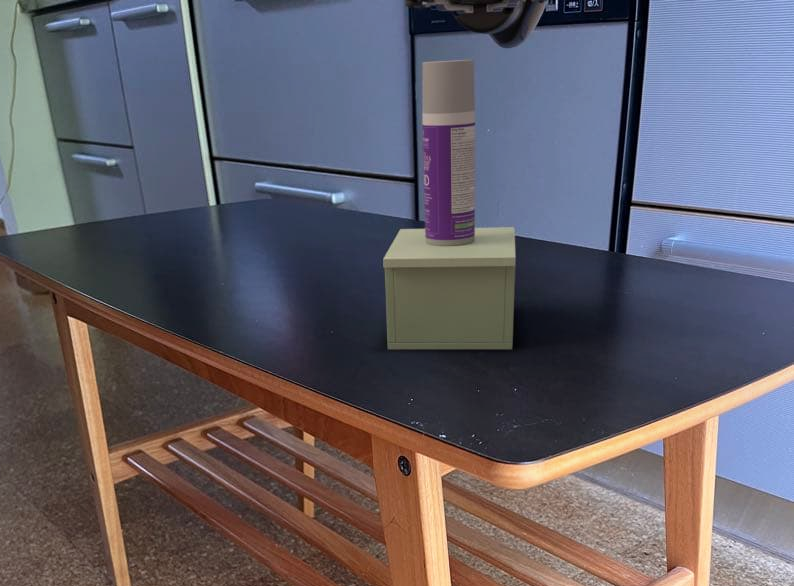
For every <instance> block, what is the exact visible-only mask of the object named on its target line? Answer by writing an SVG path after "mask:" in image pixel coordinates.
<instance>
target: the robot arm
mask: <svg viewBox="0 0 794 586" xmlns="http://www.w3.org/2000/svg"><path fill="white" fill-rule="evenodd" d="M404 3H405V5H404V6H405V7H408V9H412V8H413V9H414V8H415V9H419V10H422V11H423V10H425V9H428V8H430V7H431V6H435V7H436V10H437V11H439V12H451V13H452V15H453V17H454V19H455V20H456V21H457V22H458V24H459V25H460V26H462V27H463V28H464V29H465V30H468V31H470V32H472V33H476V34H482V35H489V37H490V38H491V39H492V40H493V42H494V43H495V44H496V45H497V46H499V47H501V48H502V49H513V48H516V47H518V46H520V45H521V44H523V43H524V42H526V40H528V38H529V37H530V36H531V35H532V33H533V32H534V31H535V29H536V27H537V25H538V23H539V22H540V20H541V17H542V15H543V13H544V11H545V9H546V7H547V5H548V3H549V0H404Z"/></svg>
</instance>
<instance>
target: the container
mask: <svg viewBox="0 0 794 586" xmlns="http://www.w3.org/2000/svg"><path fill="white" fill-rule="evenodd" d="M474 63H475V61H474V59H456V60H454V59H453V60H437V61H435V60H434V61H423V62H422V63H421V64H422V65H421V67H422V68H421V70H422V72H421V75H422V88H421V89H422V90H421V91H422V97H421V99H422V123H421V124H422V127H421V128H422V159H423V160H422V161H423V194H424V195H423V196H424V197H423V198H424V200H423V205H424V229H425V239H426V243H427V244H430V245H437V246H455V245H464V244H468V243H472V242H473V241H474V240H475V228H476V223H475V222H476V213H475V212H476V112H475V111H476V110H475V109H476V107H475V106H476V104H475V65H474Z"/></svg>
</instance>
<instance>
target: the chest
mask: <svg viewBox="0 0 794 586" xmlns="http://www.w3.org/2000/svg"><path fill="white" fill-rule="evenodd" d="M515 282H516V265H515V266H501V267H414V268H384V285H385V287H384V288H385V311H386V312H385V313H386V339H387V350H513V342H514V318H515V317H514V316H515V315H514V314H515V284H516V283H515Z"/></svg>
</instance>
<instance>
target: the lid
mask: <svg viewBox="0 0 794 586" xmlns="http://www.w3.org/2000/svg"><path fill="white" fill-rule="evenodd" d="M515 231H516V230H515V227H514V226H509V227H508V226H506V227H505V226H504V227H503V226H502V227H500V226H499V227H475V240H474V241H473V242H472V243H468V244H464V245H455V246H437V245H430V244H427V243H426V239H425V228H400V229H399V231H398V232H397V234H396V236H395V238H394V239H393V242H391V245H390V246H389V248H388V250H387V252H386V253H385V255H384V256H383V260H382V266H383V268H384V269H385V268H414V267H501V266H515V267H516V262H517V261H516V260H517V258H516V257H517V255H516V234H515Z"/></svg>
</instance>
